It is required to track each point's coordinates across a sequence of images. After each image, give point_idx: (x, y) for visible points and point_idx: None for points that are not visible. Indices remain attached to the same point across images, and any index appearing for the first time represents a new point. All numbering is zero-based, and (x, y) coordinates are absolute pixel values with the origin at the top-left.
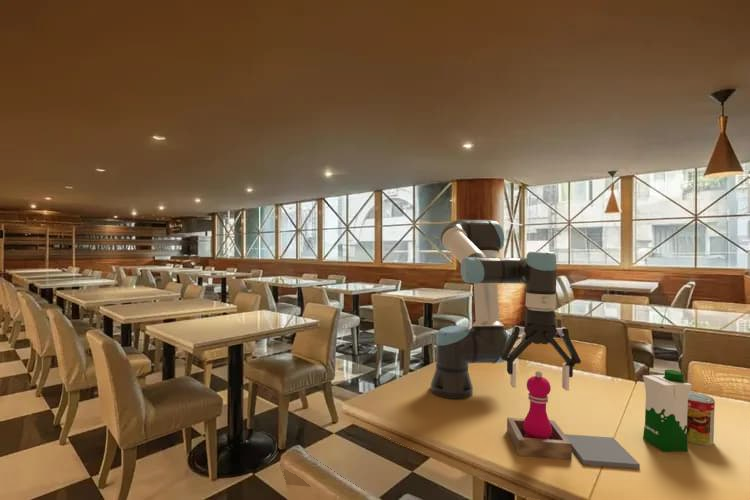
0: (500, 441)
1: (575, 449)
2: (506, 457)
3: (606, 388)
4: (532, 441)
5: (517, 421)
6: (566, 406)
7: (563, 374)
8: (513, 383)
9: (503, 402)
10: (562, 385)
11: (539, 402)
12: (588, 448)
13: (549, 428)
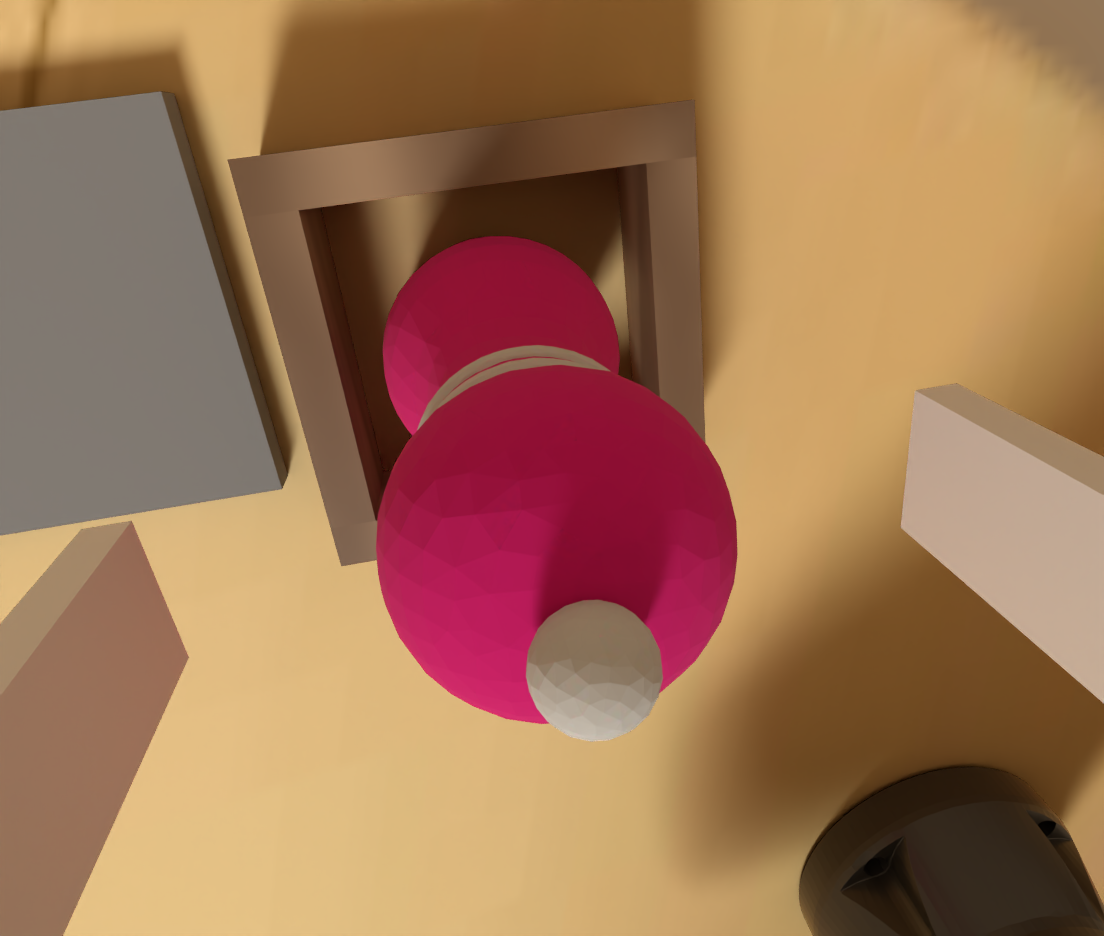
0: (746, 292)
1: (212, 260)
2: (750, 48)
3: None
4: (576, 116)
5: None
6: (227, 914)
7: (78, 798)
8: (992, 408)
9: (628, 831)
10: (175, 664)
11: (537, 347)
12: (107, 309)
13: (410, 297)
